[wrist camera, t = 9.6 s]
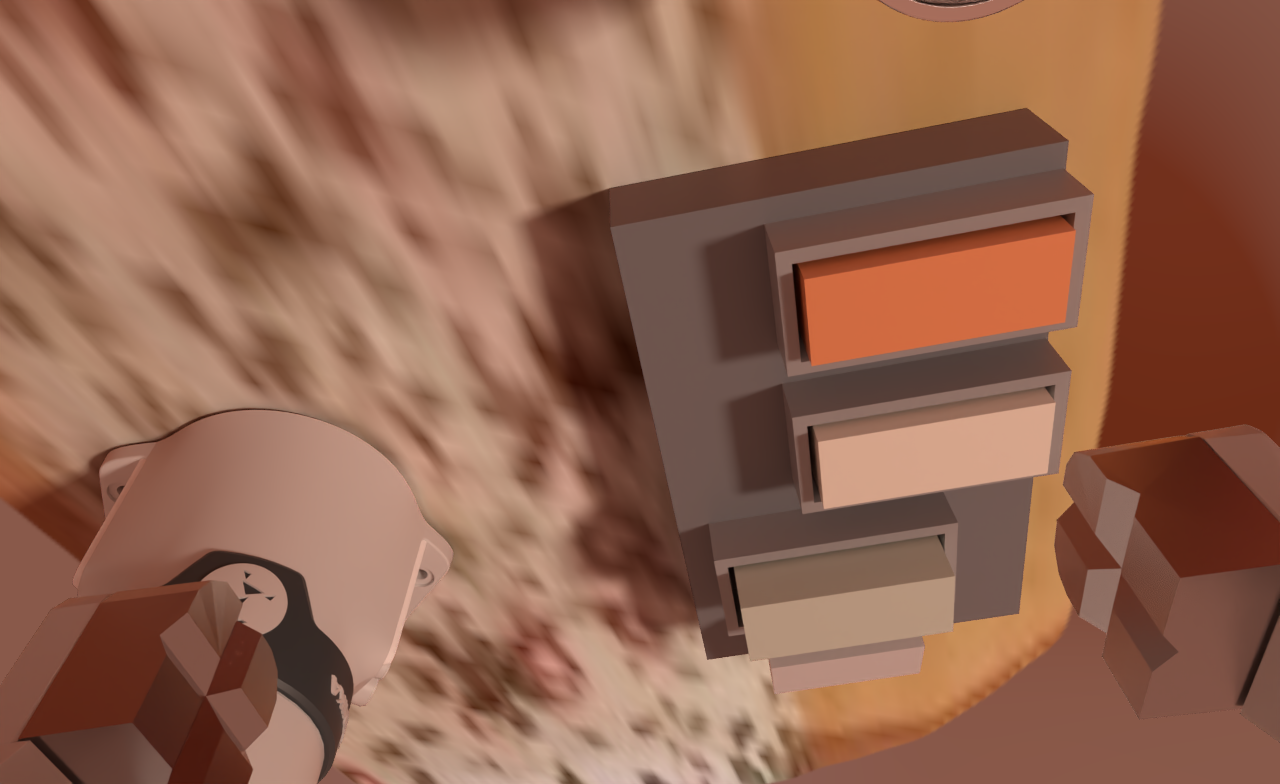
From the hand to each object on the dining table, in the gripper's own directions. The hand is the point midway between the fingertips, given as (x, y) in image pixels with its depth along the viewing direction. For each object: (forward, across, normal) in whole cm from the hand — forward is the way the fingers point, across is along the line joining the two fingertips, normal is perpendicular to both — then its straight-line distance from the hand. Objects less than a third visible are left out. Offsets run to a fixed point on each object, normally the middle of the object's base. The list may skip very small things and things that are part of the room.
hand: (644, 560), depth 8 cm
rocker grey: (+24, +7, -34) cm, 42 cm away
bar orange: (+26, +11, -12) cm, 30 cm away
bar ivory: (+26, +11, -20) cm, 34 cm away
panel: (+30, +8, -22) cm, 38 cm away
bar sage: (+24, +6, -28) cm, 38 cm away
